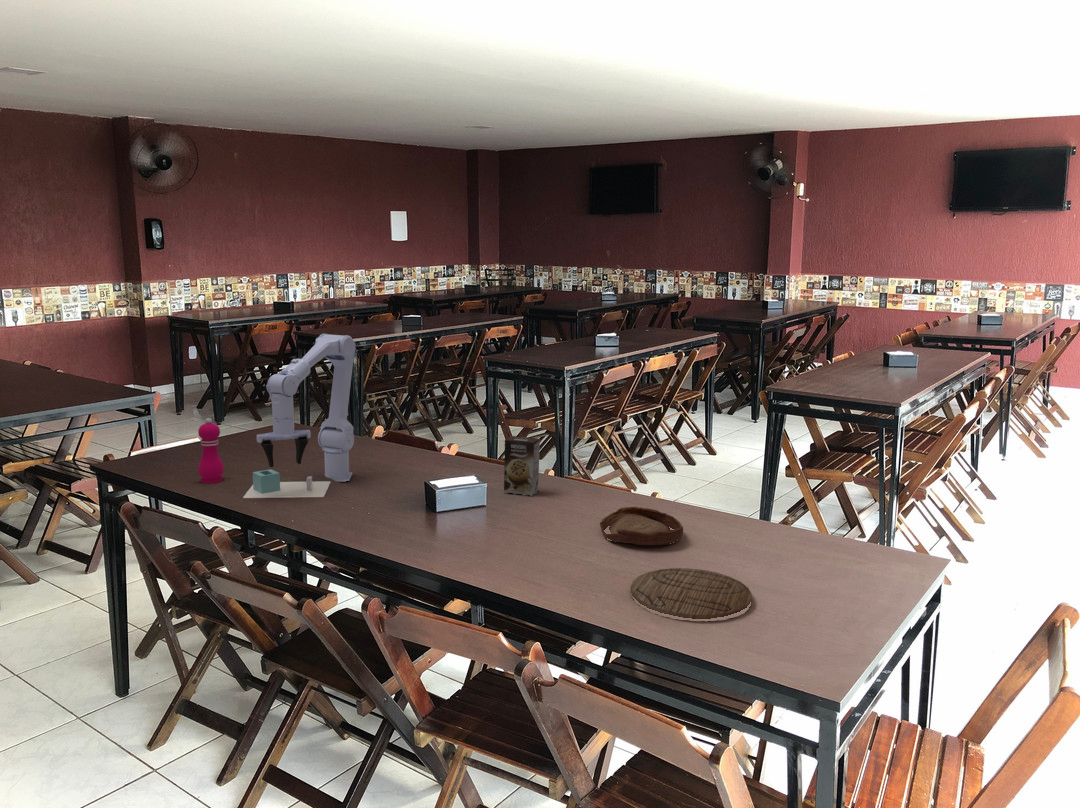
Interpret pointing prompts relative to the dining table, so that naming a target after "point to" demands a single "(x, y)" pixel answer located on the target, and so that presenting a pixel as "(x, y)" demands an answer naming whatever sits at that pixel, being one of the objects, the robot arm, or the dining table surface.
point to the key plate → (293, 490)
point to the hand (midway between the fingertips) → (285, 464)
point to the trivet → (691, 593)
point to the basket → (641, 526)
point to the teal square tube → (266, 481)
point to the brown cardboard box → (521, 465)
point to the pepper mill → (210, 453)
